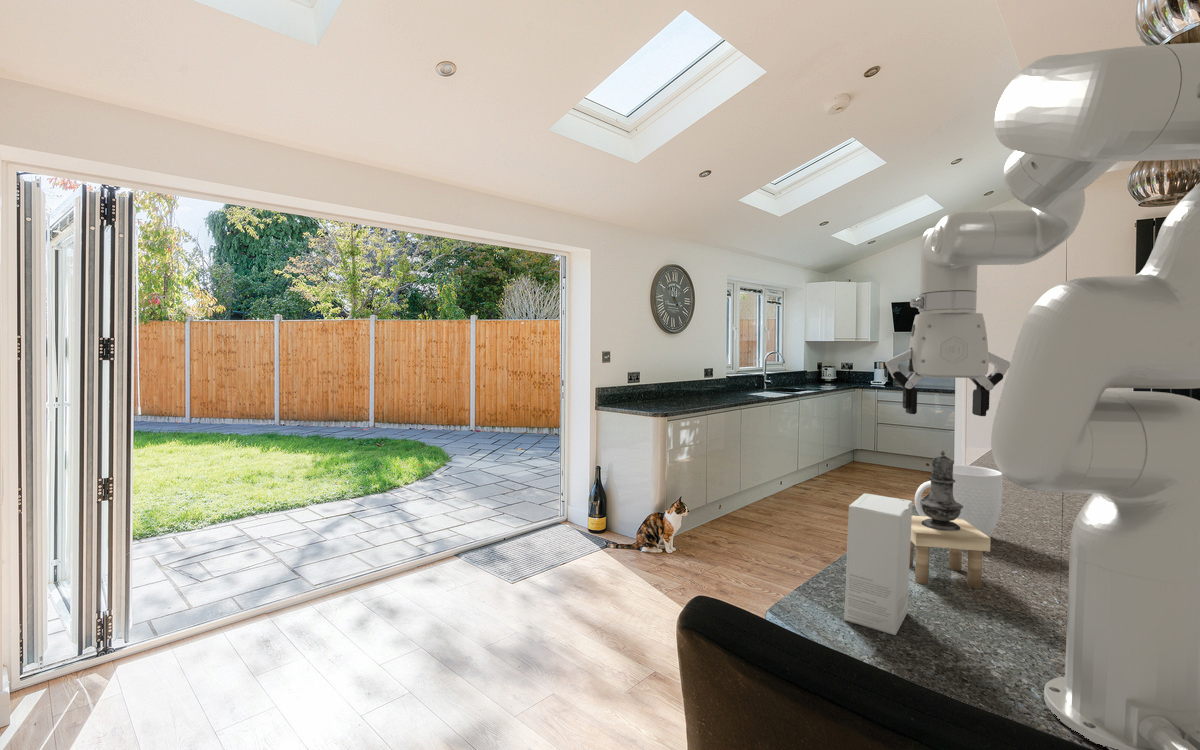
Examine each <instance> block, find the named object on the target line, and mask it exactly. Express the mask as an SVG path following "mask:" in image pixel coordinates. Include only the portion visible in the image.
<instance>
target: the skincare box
mask: <svg viewBox="0 0 1200 750" xmlns="http://www.w3.org/2000/svg"><path fill="white" fill-rule="evenodd" d="M912 516H913V501H912V500H909V499H903V498H897V497H889V496H886V495H885V496H884V495H878V494H871V493H863V494H862V495H860V496H859V497H858V498H857V499H856V500H854V501H853V502H852V503H850V504H849V505H848V520H847V539H846V540H847V543H846V544H847V545H846V563H845V564H846V568H845V569H846V570H845V571H846V572H845V589H844V590H845V591H844V593H845V595H844V611H843V613H844V614H843V619H844V621H846V622H849V623H853V624H856V625H860V626H863V627H865V628H870V629H873V630H876V631H879V632H883V633H886V634H890V635H892V636H896V635H897V633H898V631H899V629H900V627H901V626H902V624H903V622H904V620H905V618H906V617H907V614H908V611H909V609H908V605H909V603H908V602H909V600H908V599H909V582H910V579H909V578H910V567H909V564H910V542H911V521H912Z"/></svg>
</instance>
